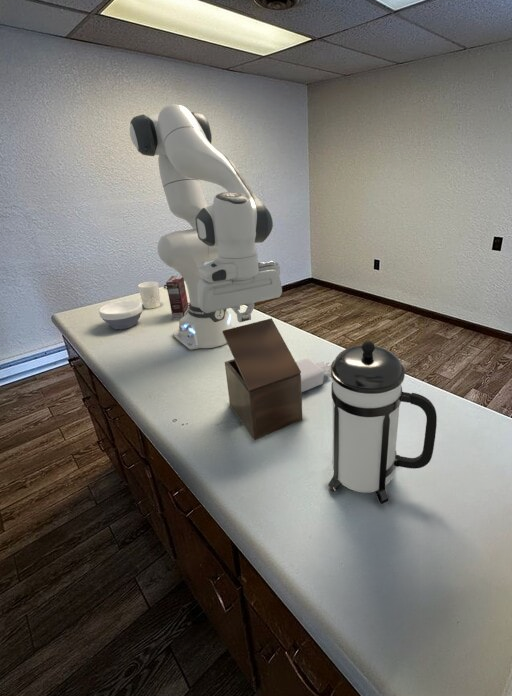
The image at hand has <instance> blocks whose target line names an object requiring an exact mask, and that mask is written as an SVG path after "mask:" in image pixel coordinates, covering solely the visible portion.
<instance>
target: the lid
mask: <svg viewBox="0 0 512 696" xmlns="http://www.w3.org/2000/svg"><path fill="white" fill-rule="evenodd" d="M222 333H223V335H224V337H225V340H226V342H227V343H226V344H227V346H228V348H229V351H230V353H231V356H232V357H233V359H234V360H235V362H236V364H237V366H238V368H239V371H240V373H241V375H242V377H243V379H244V382H245V384H246V386H247V388H248V391H249V392H251V391H254V390H256V389H259V388H262V387H265V386H268V385H270V384H273V383H276V382H279V381H282V380H284V379H287V378H290V377H293V376H295V375H298V374H300V373H301V371H300V369H299V367H298V365H297V364H296V362H297V361H296V360H295V358H294V356H293V355H292V352H291V351H290V350H289V348H288V345H287V344H286V342H285V340H284V338H283V336H282V335H281V333H280V331H279V329H278V327H277V325H276V323H275V322H274V320H273V318H272V317H271V318H268V319H262V320H259V321H255V322H251V323H248V324H244V325H240V326H239V325H238V326H236V327H233V328H231V329H227V330H224V331H223V332H222Z"/></svg>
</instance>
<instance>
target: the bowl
mask: <svg viewBox="0 0 512 696" xmlns="http://www.w3.org/2000/svg"><path fill="white" fill-rule="evenodd" d="M143 309H144V307H143V303H142V301H139V300H135V299H125V300H118V301H113V302H109V303H107V304H104V305H103V306H101V307H100V308H99V309H98V313H99V317H100V318H101V319H102V321H104V322H105V323H106V324H107V325H108V326H110V327H111V328H112V329H116V330H125V329H129V328H132V327H134V326H135V325H137V324H138V322H139V320H140V319H141V316H142V313H143Z"/></svg>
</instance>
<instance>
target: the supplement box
mask: <svg viewBox="0 0 512 696" xmlns="http://www.w3.org/2000/svg"><path fill="white" fill-rule="evenodd" d="M165 285H167V287H166V289H167V295H168V300H169V307H170V312H171V317H172V320H174V321H176V320H177V321H178V320H180V319H181V318H182V317H184V316H185V315H186V314H187V313H188V310H189V306H187V305H189V304H186V303H189V301H188V295H187V289H186V286H185V285H186V283H185V280H184V278H183V277H182V276H181V275H172V276H171V277H170V278H169V279H168V280H167V281H166V282H165Z"/></svg>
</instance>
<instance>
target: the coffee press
mask: <svg viewBox="0 0 512 696" xmlns="http://www.w3.org/2000/svg"><path fill="white" fill-rule="evenodd" d="M330 365H331V367H329V369H328V370H327V371H326V373H325V374H323V376H324V377H328V378H330V379H331V381H332V382H331V388H330V389H331V391H330V392H331V398H332V470H333V474H332V478H331V479H330V480H329V482H328V485H327V486H328V488H329V489H330V491H331V492H332V493H335V492H337V491H338V490H339V489H340V487H342V485H343V486H344V487H346V488H347V489H349V490H351V491H354V492H358V493H363V494H364V493H366V494H367V493H375V495H376V498H377V500H378V503H379V504H380V505H383V504H385V503H387V502H389V496H388V493H387V489H386V486H387V485H388V484H389V483H390V482H391V480H392V478H393V475H394V471H395V469H396V468H406V469H412V470H413V469H421V468H424V467H425V466H427V465H429V463H430V462H431V460H432V458H433V454H434V449H435V442H436V434H437V423H438V415H437V410H436V407H435V405H434V403H433V402H432V401H431V400H430V399H429V398H427V397H425V396H424V395H422V394H419V393H415V392H407V391H403V387H402V384H403V382H404V380H405V377H406V376H405V374H406V371H405V367H404V365H403V363H402V362H401V361H400V359H399V358H398V356H397V355H396V354H394V353H393V352H392V351H390V350H388V349H386V348H384V347H382V346H377V345H375V344H374V342H372V341H371V340H365V341H364V342H363V343H362V344H359V345H353V346H350V347H347V348H345V349H344V350H342V351H341V352H339V353H338V354H337V355H336V357H335V359H334V360H333V361H332V362H331V364H330ZM401 403H409V404H410V405H414V406H417V407H419V408H420V409H421V410H422V411H423V412H424V414H425V417H426V424H425V430H424V439H423V447H422V452H421V453H420V455H418V456H416V457H407V456H401V455H400V454H397V441H398V440H397V439H398V426H399V417H400V415H399V414H400V405H401Z"/></svg>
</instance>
